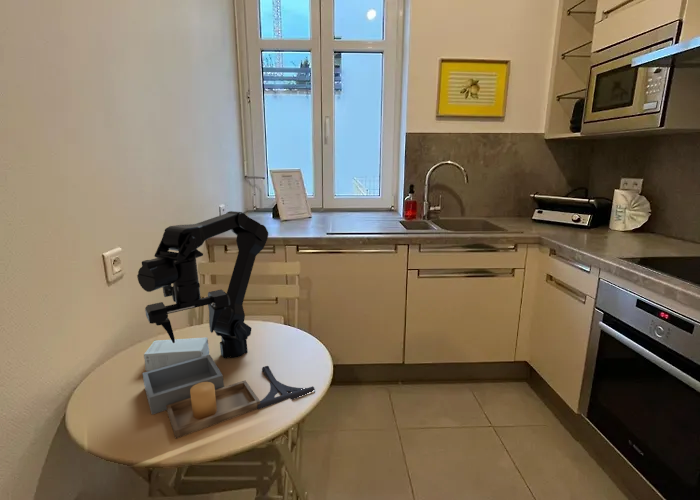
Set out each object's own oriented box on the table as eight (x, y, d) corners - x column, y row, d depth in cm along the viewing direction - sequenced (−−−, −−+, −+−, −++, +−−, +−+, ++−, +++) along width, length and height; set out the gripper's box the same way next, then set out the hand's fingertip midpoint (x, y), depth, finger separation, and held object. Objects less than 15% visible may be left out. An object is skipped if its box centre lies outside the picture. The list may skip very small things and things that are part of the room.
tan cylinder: (213, 402, 93) (211, 379, 91) (219, 414, 89) (217, 390, 87) (190, 410, 90) (187, 386, 88) (195, 422, 86) (192, 397, 84)
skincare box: (145, 373, 107) (202, 371, 108) (142, 353, 105) (201, 351, 106) (157, 357, 115) (210, 355, 116) (154, 338, 113) (209, 336, 114)
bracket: (289, 367, 110) (289, 358, 110) (314, 394, 98) (315, 384, 98) (237, 381, 103) (237, 371, 102) (258, 412, 90) (258, 401, 90)
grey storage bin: (211, 371, 107) (209, 354, 106) (224, 393, 98) (222, 375, 96) (145, 391, 99) (142, 372, 98) (152, 417, 89) (149, 397, 88)
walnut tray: (246, 389, 99) (245, 380, 99) (260, 410, 91) (260, 401, 91) (167, 415, 90) (166, 405, 89) (176, 441, 82) (174, 431, 81)
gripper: (214, 263, 108) (220, 316, 112) (137, 277, 98) (146, 335, 102) (228, 273, 99) (233, 331, 103) (144, 290, 89) (154, 353, 93)
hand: (193, 337), depth 101 cm, fingers open, 9 cm apart
